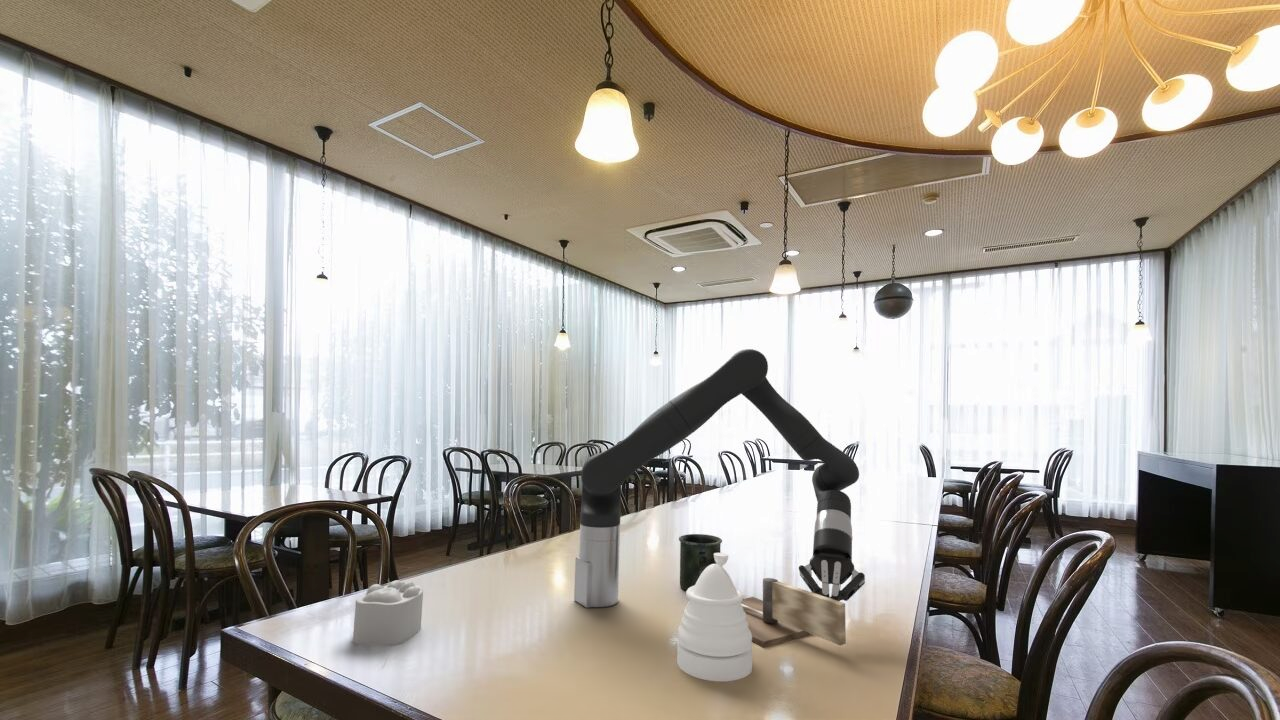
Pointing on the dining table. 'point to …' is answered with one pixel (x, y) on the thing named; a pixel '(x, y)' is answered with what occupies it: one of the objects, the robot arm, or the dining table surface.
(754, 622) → the wooden sign stand
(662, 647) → the dining table surface
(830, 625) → the plank on dark post
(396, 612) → the lumpy-topped squat cylinder
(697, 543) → the mug
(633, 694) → the dining table surface
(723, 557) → the honey pot
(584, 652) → the dining table surface
